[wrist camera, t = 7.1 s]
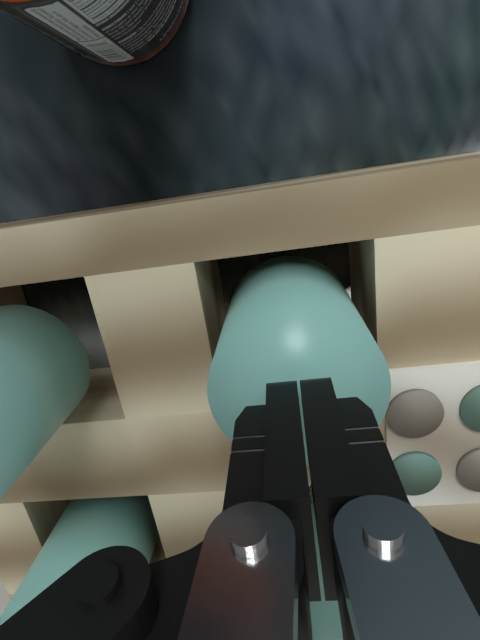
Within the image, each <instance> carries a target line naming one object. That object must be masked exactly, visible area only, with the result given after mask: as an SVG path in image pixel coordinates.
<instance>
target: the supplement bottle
mask: <svg viewBox="0 0 480 640" xmlns="http://www.w3.org/2000/svg"><path fill="white" fill-rule="evenodd" d="M188 3H189V0H0V10H1V11H2V12H4V13H6V14H8V15H10V16H11V17H13V18H15V19H17V20H19V21H20V22H22V23H24V24H26V25H27V26H29V27H31V28H33V29H35V30H37V31H39V32H40V33H42V34H44V35H46V36H48V37H49V38H51V39H53V40H55V41H57V42H59V43H61V44H62V45H64V46H65V47H67V48H69V49H71V50H73V51H74V52H76V53H77V54H79V55H80V56H83V57H86V58H89V59H91V60H93V61H96V62H99V63H102V64H107V65H112V66H126V65H133V64H137V63H141V62H144V61H146V60H148V59H150V58H151V57H153V56H155V55H156V54H157V53H159V52H160V51H161V50H162V49H163V48H164V47H165V46H166V45H167V44H168V43H169V42H170V40H171V39H172V38H173V37H174V35H175V34H176V32H177V30H178V28H179V27H180V25H181V23H182V20H183V18H184V16H185V13H186V10H187V6H188Z"/></svg>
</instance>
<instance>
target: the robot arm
mask: <svg viewBox="0 0 480 640" xmlns="http://www.w3.org/2000/svg"><path fill="white" fill-rule="evenodd" d="M300 390H301V399H302V408H303V418H304V427H305V436H306V445H307V454H308V462H309V470H310V479H311V487H312V495H313V503H314V511H315V520H316V528H317V536H318V544H319V552H320V561H321V569H322V577H323V585H324V594H325V601H338V607H339V613H340V620H341V627H342V636H343V640H480V544H477V543H473V542H468V541H465V540H461V539H458V538H455V537H452V536H450V535H447V534H445V533H443V532H442V531H440V530H438V529H436V528H435V527H433V526H432V525H430V523H429V522H428V520H427V519H426V518H425V517H424V516H423V515H422V514H421V513H420V512H419V511H418V510H417V509H416V508H414V507H412V505H411V504H410V502H409V500H408V498H407V495H406V493H405V490H404V488H403V485H402V483H401V480H400V478H399V475H398V473H397V470H396V468H395V465H394V463H393V460H392V458H391V455H390V453H389V450H388V448H387V446H386V443H384V438H383V436H382V433H381V431H380V429H379V427H378V423H377V421H376V418H375V416H374V413H373V411H372V409H371V408H370V407H369V406H367V405H366V404H365V403H364V402H363V401H361V400H360V399H359V398H358V397H348V398H336V395H335V391H334V387H333V384H332V380H331V378H330V377H328V378H317V379H306V380H300ZM313 601H321V592H320V583H319V574H318V565H317V556H316V547H315V538H314V529H313V520H312V511H311V502H310V493H309V484H308V476H307V467H306V458H305V449H304V440H303V431H302V423H301V414H300V405H299V396H298V387H297V380H296V381H285V382H274V383H266V405H255V406H246V407H245V408H244V409H243V411H242V412H241V413H240V415H239V416H238V417H237V419H236V420H235V425H234V432H233V440H232V447H231V454H230V461H229V468H228V475H227V482H226V489H225V496H224V503H223V510H222V512H221V513H220V514H219V515H218V516H217V517H216V518H215V519H214V520H213V521H212V522H211V524H210V525H209V527H208V529H207V531H206V534H205V536H204V540H203V541H202V542H200V543H199V544H197V545H196V546H194V547H193V548H191V549H189V550H187V551H184V552H182V553H180V554H177V555H174V556H171V557H168V558H165V559H163V560H160V561H157V562H154V563H151V564H149V563H148V561H147V559H146V557H145V556H144V555H143V554H142V553H141V552H140V551H138V550H137V549H135V548H132V547H129V546H111V547H107V548H103V549H100V550H98V551H96V552H93V553H92V554H90V555H88V556H86V557H85V558H83V559H82V560H81V561H79V562H78V563H77V564H75V565H74V566H73V567H72V568H71V569H69V570H68V571H67V572H66V573H64V574H63V575H62V576H61V577H59V578H58V579H57V580H56V581H54V582H53V583H52V584H51V585H50V586H48V587H47V588H46V589H45V590H43V591H42V592H41V593H40V594H38V595H37V596H36V597H35V598H34V599H32V600H31V601H30V602H29V603H27V604H26V605H25V606H24V607H22V608H21V609H20V610H19V611H17V612H16V613H15V614H14V615H13V616H11V617H10V618H9V619H8V620H6V621H5V622H4V623H3V624H1V625H0V640H312V622H311V610H310V602H313Z"/></svg>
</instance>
